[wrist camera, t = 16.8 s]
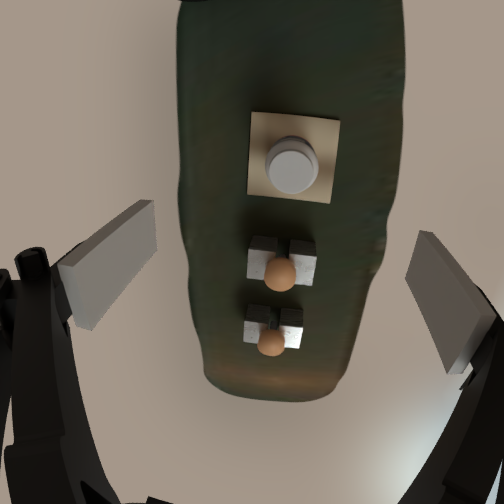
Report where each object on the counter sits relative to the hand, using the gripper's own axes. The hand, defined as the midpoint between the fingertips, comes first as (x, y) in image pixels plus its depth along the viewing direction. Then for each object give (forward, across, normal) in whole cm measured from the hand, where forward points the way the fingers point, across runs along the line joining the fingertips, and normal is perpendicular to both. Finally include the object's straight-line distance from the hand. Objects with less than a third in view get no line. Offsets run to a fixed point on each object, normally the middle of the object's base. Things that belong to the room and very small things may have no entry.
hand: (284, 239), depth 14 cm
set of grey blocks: (+23, 0, -18) cm, 29 cm away
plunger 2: (+21, 0, -23) cm, 32 cm away
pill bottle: (+22, 0, 0) cm, 23 cm away
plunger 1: (+21, 0, -13) cm, 25 cm away
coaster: (+23, 0, 0) cm, 23 cm away
